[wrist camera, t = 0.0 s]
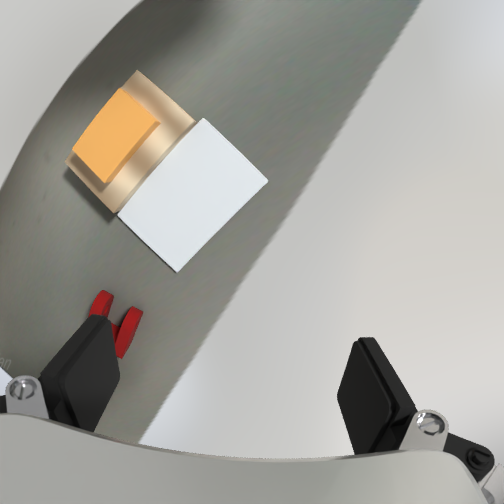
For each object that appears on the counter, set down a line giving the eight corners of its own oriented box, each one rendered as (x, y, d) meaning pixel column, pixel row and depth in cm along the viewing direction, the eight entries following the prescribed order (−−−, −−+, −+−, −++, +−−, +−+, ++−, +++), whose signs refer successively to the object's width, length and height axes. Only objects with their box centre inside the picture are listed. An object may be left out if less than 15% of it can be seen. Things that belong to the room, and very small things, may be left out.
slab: (126, 91, 33) (119, 87, 30) (160, 122, 34) (155, 120, 32) (80, 148, 35) (71, 149, 32) (111, 181, 36) (104, 183, 34)
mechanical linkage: (107, 285, 44) (93, 298, 39) (145, 306, 45) (135, 322, 40) (87, 352, 48) (76, 368, 43) (120, 371, 49) (111, 388, 44)
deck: (144, 75, 35) (137, 69, 32) (198, 123, 37) (194, 120, 34) (75, 160, 38) (64, 161, 35) (122, 209, 40) (113, 213, 37)
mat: (203, 118, 37) (203, 117, 36) (268, 180, 39) (268, 180, 39) (118, 214, 40) (117, 215, 40) (177, 271, 43) (177, 272, 42)
